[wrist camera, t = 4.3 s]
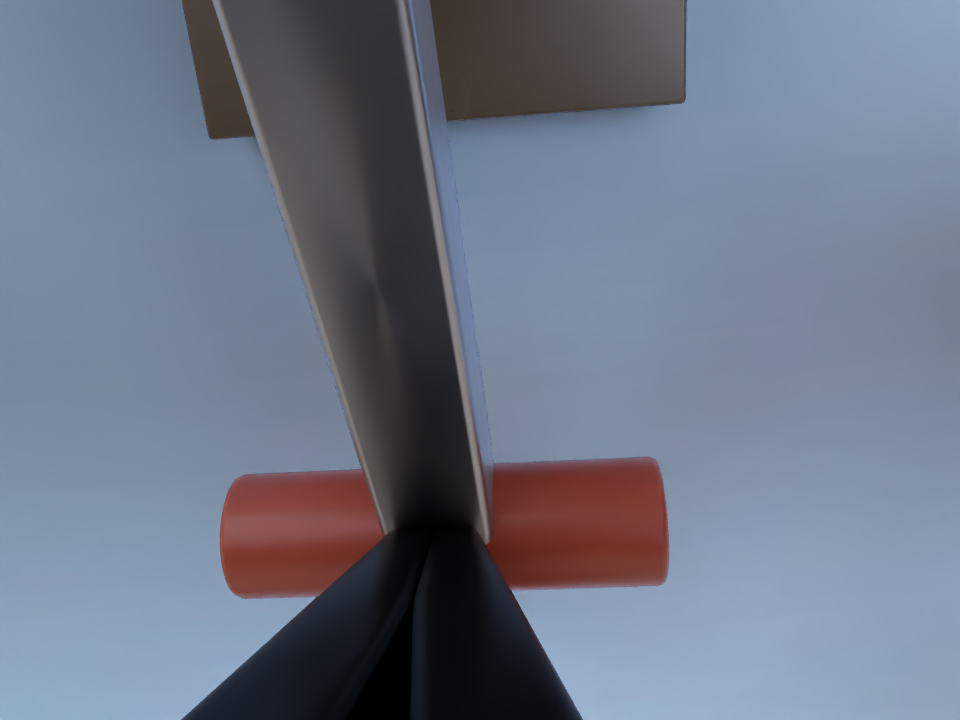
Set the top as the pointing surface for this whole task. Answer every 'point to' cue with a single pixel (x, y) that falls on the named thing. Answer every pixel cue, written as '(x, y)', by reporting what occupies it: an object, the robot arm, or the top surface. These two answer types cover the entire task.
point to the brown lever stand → (503, 58)
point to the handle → (399, 326)
